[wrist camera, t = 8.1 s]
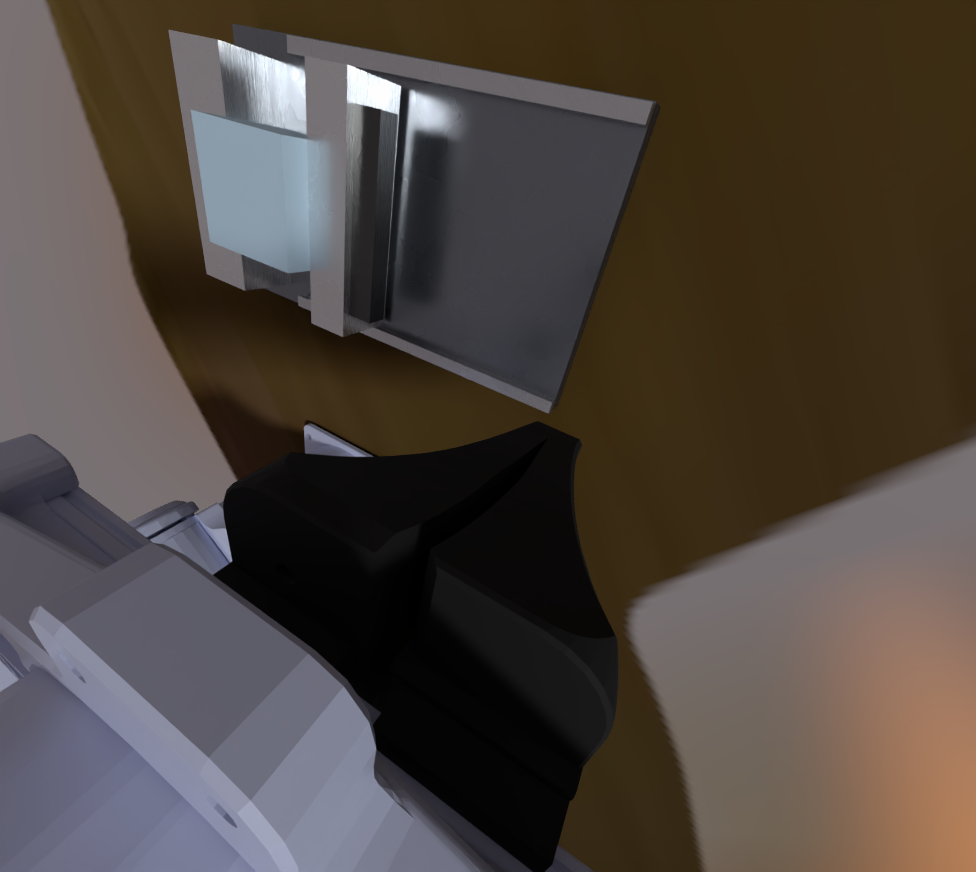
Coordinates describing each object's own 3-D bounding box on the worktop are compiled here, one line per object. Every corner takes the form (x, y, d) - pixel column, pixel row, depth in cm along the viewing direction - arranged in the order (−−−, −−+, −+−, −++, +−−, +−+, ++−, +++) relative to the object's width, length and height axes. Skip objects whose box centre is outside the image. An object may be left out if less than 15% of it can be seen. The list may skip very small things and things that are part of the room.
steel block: (360, 264, 22) (288, 273, 18) (289, 238, 23) (209, 241, 20) (364, 150, 19) (281, 134, 15) (284, 128, 20) (190, 109, 17)
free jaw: (402, 331, 22) (362, 346, 20) (354, 312, 23) (311, 323, 20) (425, 91, 16) (374, 70, 14) (362, 77, 17) (304, 55, 15)
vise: (558, 404, 21) (528, 437, 18) (270, 283, 27) (209, 292, 24) (660, 107, 14) (641, 77, 11) (251, 31, 20) (163, -4, 17)
